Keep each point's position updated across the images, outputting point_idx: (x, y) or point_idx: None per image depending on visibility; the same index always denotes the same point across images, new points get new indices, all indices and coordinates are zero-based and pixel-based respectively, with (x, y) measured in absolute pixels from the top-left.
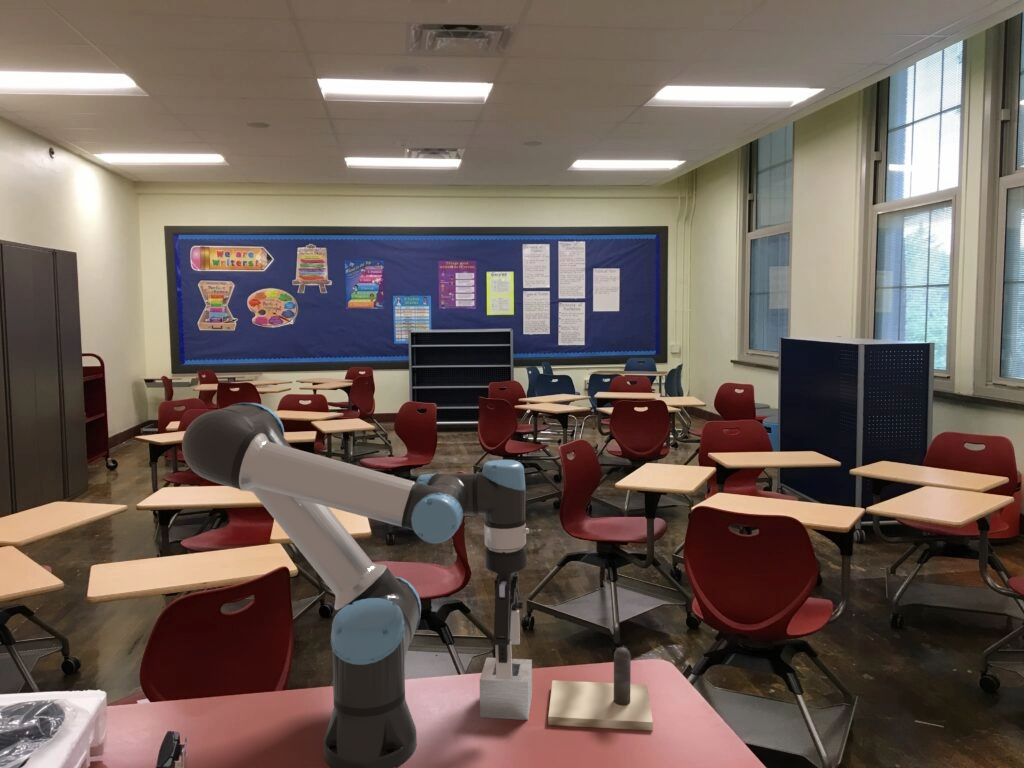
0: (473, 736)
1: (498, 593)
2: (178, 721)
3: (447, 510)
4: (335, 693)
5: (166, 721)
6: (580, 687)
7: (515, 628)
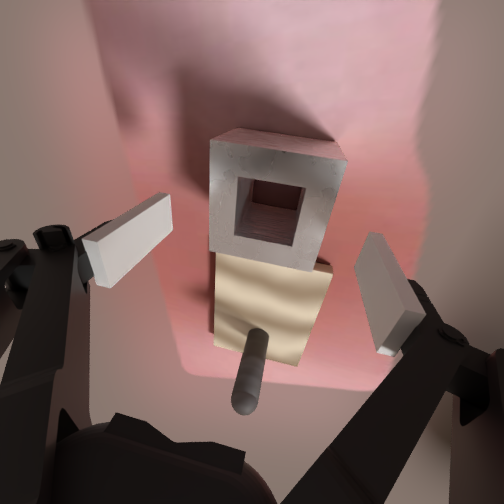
0: (178, 115)
1: None
2: None
3: None
4: None
5: None
6: (301, 304)
7: (368, 290)
